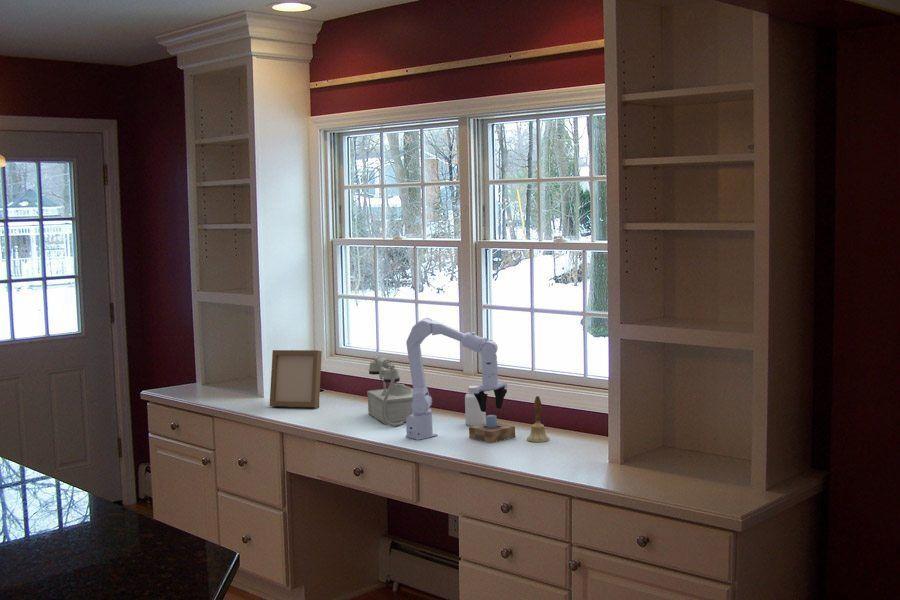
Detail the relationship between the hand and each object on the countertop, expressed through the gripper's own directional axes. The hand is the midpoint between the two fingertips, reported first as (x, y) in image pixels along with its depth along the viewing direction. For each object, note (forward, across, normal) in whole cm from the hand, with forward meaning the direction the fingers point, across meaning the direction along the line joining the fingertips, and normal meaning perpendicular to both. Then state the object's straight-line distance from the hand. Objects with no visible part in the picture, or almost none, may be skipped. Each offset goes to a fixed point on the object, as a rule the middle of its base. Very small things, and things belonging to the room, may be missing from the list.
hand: (491, 409), depth 362 cm
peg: (+10, -1, -2) cm, 10 cm away
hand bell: (+10, +8, -16) cm, 21 cm away
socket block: (+10, -1, -2) cm, 10 cm away
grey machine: (+10, -6, +53) cm, 54 cm away
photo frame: (+10, -20, +107) cm, 110 cm away
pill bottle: (+10, +8, +20) cm, 24 cm away
